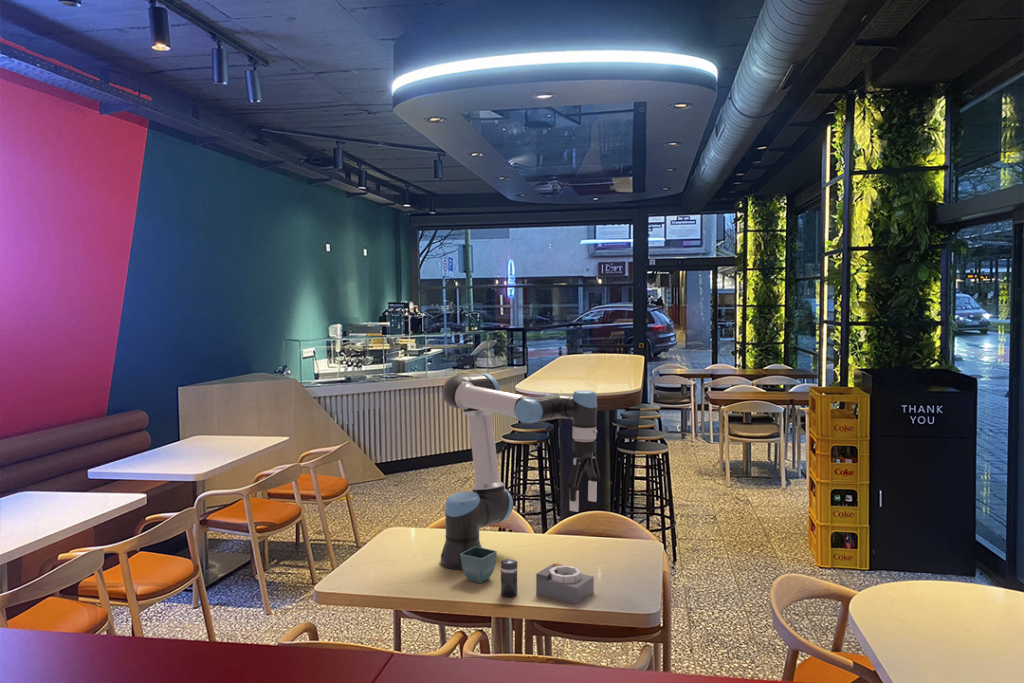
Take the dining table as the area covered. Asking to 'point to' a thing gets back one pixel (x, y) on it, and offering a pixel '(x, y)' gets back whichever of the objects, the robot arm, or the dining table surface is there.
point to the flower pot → (478, 563)
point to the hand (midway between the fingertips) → (583, 506)
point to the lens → (509, 578)
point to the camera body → (564, 583)
